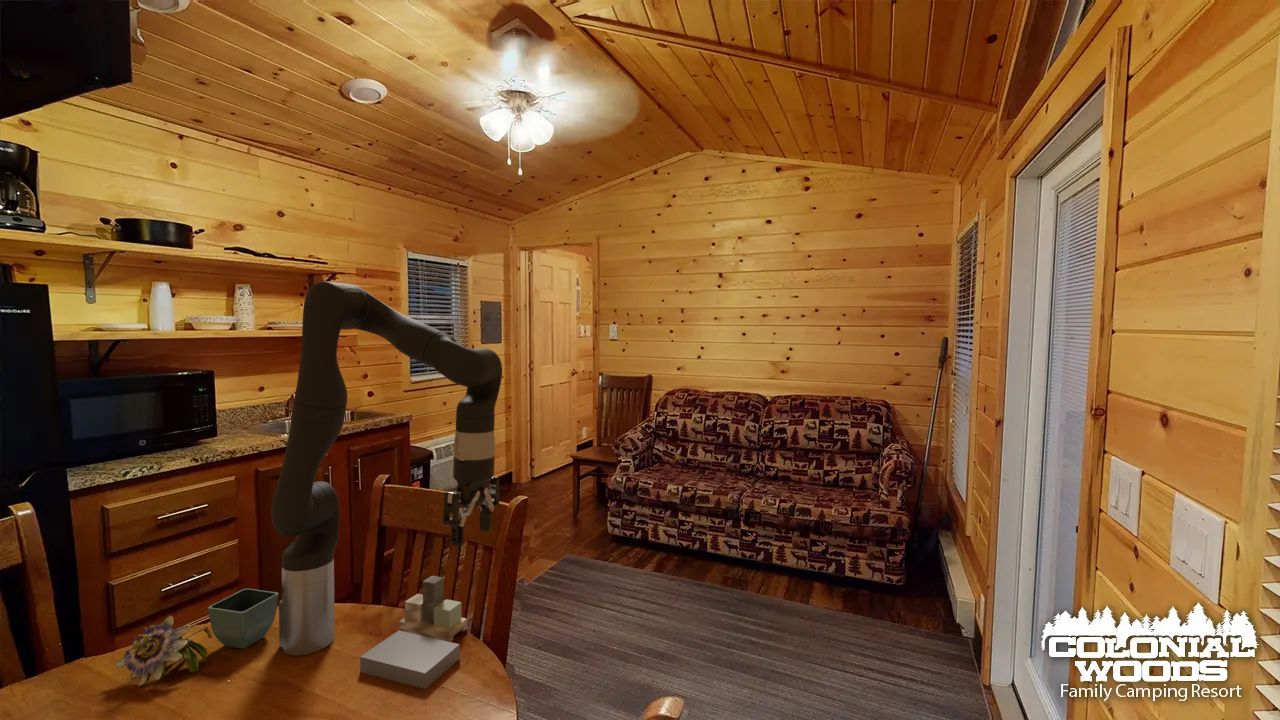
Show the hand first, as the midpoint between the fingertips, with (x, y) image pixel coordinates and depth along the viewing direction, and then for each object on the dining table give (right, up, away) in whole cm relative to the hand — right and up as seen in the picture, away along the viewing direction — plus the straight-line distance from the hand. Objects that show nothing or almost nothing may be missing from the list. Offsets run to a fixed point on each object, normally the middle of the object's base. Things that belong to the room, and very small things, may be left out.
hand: (471, 537), depth 105 cm
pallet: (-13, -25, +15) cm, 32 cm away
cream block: (-17, -23, +16) cm, 32 cm away
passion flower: (-58, -25, -1) cm, 63 cm away
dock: (-13, -26, +2) cm, 29 cm away
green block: (-9, -23, +14) cm, 28 cm away
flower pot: (-50, -25, +9) cm, 57 cm away
